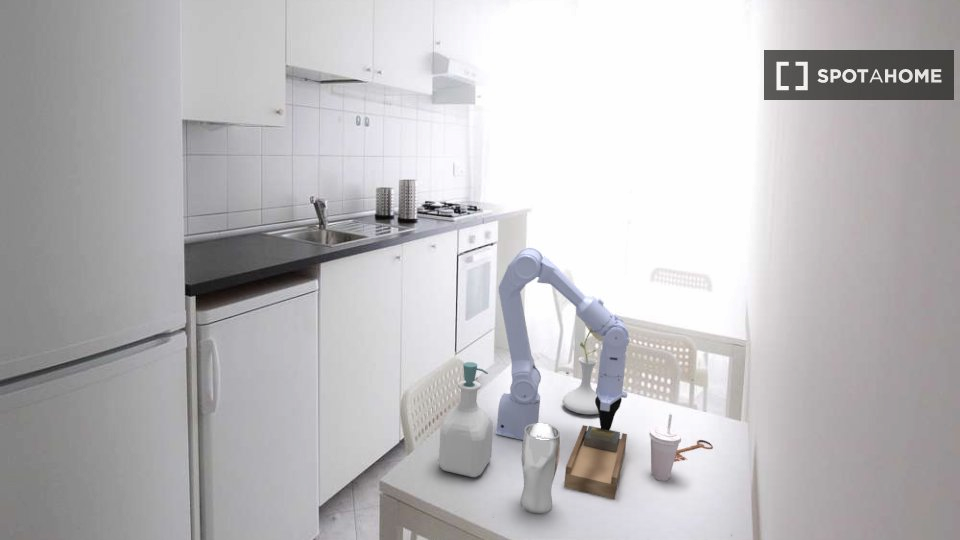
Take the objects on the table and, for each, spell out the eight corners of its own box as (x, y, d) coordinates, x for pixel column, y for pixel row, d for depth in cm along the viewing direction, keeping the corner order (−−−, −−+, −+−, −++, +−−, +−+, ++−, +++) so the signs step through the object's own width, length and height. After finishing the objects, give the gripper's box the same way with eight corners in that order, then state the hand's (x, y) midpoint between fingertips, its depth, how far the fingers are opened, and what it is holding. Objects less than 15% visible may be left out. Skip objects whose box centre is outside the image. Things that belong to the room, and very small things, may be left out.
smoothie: (678, 486, 117) (686, 422, 114) (645, 481, 118) (653, 418, 116) (674, 470, 123) (681, 409, 120) (643, 465, 124) (650, 405, 122)
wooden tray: (564, 486, 114) (565, 466, 114) (581, 443, 133) (582, 425, 132) (614, 499, 111) (616, 478, 110) (625, 452, 130) (627, 434, 129)
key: (675, 467, 126) (722, 453, 133) (675, 463, 126) (723, 450, 132) (656, 452, 131) (702, 440, 138) (657, 449, 131) (703, 437, 137)
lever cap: (583, 445, 125) (585, 432, 125) (588, 433, 131) (589, 421, 130) (616, 452, 123) (617, 439, 123) (619, 440, 129) (620, 428, 128)
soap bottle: (479, 482, 114) (485, 375, 110) (435, 472, 117) (439, 367, 113) (493, 460, 123) (499, 360, 119) (452, 451, 126) (456, 353, 122)
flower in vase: (609, 419, 146) (618, 326, 141) (564, 417, 146) (573, 323, 141) (599, 399, 159) (608, 312, 154) (558, 396, 159) (566, 310, 154)
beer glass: (515, 493, 111) (520, 422, 108) (550, 493, 112) (556, 422, 109) (520, 515, 104) (526, 439, 101) (558, 515, 105) (564, 440, 102)
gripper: (626, 386, 122) (619, 445, 124) (632, 365, 135) (626, 418, 138) (593, 381, 124) (587, 438, 127) (602, 360, 138) (596, 413, 140)
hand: (605, 427), depth 132 cm, fingers closed
